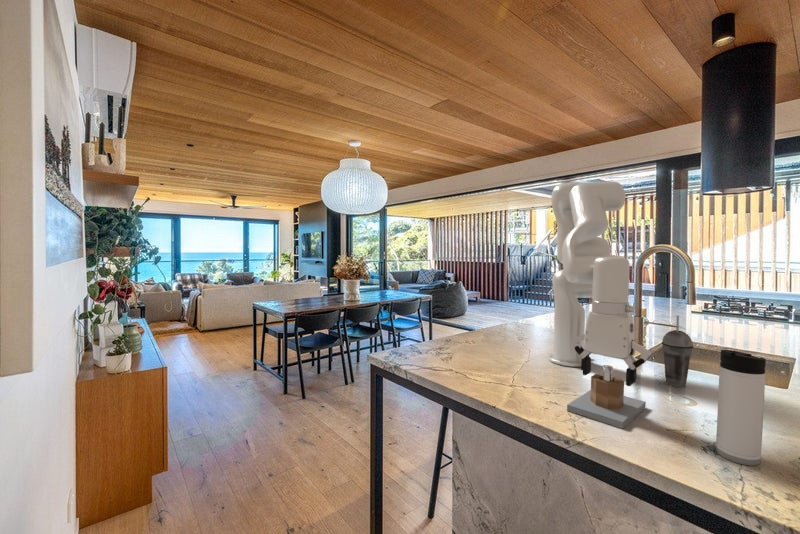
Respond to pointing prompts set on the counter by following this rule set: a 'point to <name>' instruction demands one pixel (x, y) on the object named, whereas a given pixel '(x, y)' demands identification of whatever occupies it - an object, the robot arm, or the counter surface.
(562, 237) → the robot arm
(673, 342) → the beverage cup
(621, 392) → the walnut bead
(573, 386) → the counter surface
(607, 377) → the metal rod
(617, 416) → the rod board
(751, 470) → the counter surface
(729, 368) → the travel mug
